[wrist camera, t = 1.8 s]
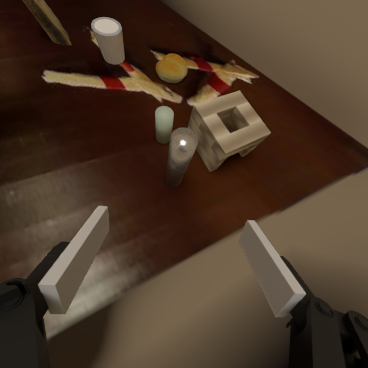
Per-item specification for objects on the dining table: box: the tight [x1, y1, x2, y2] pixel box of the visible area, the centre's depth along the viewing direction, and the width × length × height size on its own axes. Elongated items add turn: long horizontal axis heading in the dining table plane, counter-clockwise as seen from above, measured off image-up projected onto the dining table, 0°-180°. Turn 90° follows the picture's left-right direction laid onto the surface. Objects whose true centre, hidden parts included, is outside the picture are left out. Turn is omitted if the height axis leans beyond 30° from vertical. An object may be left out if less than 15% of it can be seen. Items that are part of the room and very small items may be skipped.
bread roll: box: [156, 54, 187, 83], centre depth 43 cm, size 8×9×4 cm
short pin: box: [155, 106, 174, 144], centre depth 34 cm, size 4×4×8 cm
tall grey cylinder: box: [165, 128, 198, 188], centre depth 27 cm, size 4×4×16 cm
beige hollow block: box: [188, 91, 271, 172], centre depth 35 cm, size 12×12×9 cm
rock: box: [23, 0, 72, 46], centre depth 40 cm, size 11×9×10 cm
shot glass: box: [91, 17, 125, 64], centre depth 40 cm, size 7×7×7 cm
